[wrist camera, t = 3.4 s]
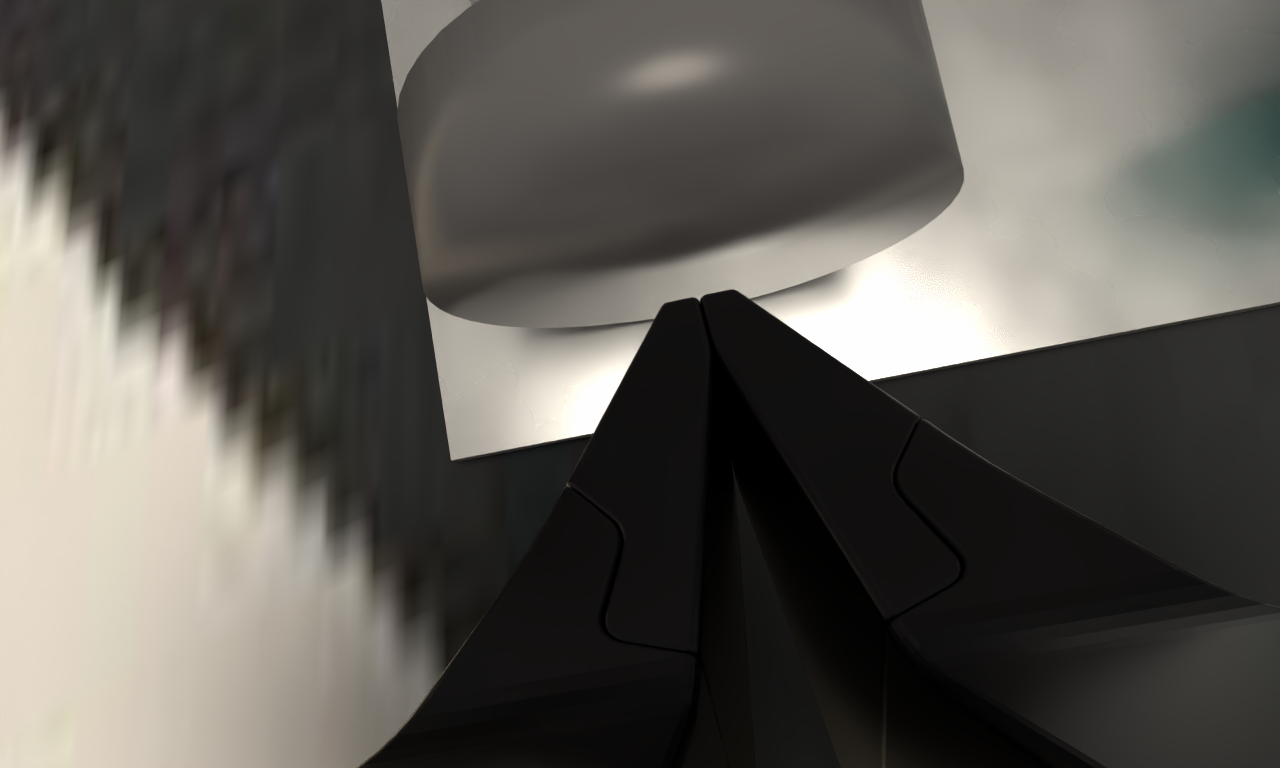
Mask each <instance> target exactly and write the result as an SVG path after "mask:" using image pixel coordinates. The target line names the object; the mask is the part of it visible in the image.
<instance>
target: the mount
mask: <svg viewBox="0 0 1280 768" xmlns="http://www.w3.org/2000/svg"><path fill="white" fill-rule="evenodd" d="M381 1H382V8H383V14H384V21H385V27H386V34H387V41H388V47H389V54H390V60H391V67H392V74H393V80H394V87H395V93H396V100H397V107H398V102H399V95H400V92H401V90H402V87H403V84H404V82H405V79H406V76H407V74H408V73H409V71H410V69H411V68H412V66H413V65H414V63H415V62H416V60H417V58H418V57H419V55H420V54H421V52H422V51H423V50H424V49H425V48H426V47H427V46H428V44H429V43H430V42H431V41H432V40H433V39H434V38H435V37H436V36H437V35H438V33H439V32H440V31H441V30H442V29H443V28H444V27H446V26H447V25H448V24H449V23H450V22H452V21H453V20H454V19H455V18H457V17H458V16H459V15H460V14H461V13H463V12H464V11H465V10H466V9H467V8H469V7H470V6H471V5H473V4H474V3H476V2H478V1H479V0H381ZM922 4H923V8H924V12H925V16H926V20H927V24H928V28H929V32H930V36H931V40H932V44H933V48H934V52H935V56H936V60H937V64H938V68H939V72H940V76H941V80H942V84H943V89H944V93H945V97H946V101H947V105H948V109H949V113H950V117H951V121H952V125H953V129H954V133H955V137H956V141H957V145H958V149H959V153H960V157H961V161H962V165H963V169H964V182H963V185H962V187H961V190H960V193H959V194H958V195H957V197H956V198H955V199H954V201H953V202H952V203H951V205H950V206H948V207H947V208H946V209H945V210H944V211H943V212H942V213H941V214H940V215H939V216H938V217H937V218H935V219H934V220H933V221H931V222H930V223H929V224H927V225H926V226H924V227H923V228H922V229H920V230H918V231H917V232H915V233H914V234H912V235H910V236H909V237H907V238H906V239H904V240H902V241H900V242H898V243H896V244H894V245H893V246H891V247H889V248H887V249H885V250H883V251H881V252H879V253H877V254H875V255H872V256H870V257H868V258H866V259H864V260H862V261H859V262H857V263H854V264H852V265H850V266H847V267H845V268H842V269H840V270H837V271H835V272H832V273H829V274H827V275H824V276H821V277H819V278H816V279H813V280H810V281H807V282H804V283H801V284H798V285H795V286H792V287H788V288H785V289H782V290H779V291H775V292H772V293H769V294H765V295H761V296H758V297H754V298H750V300H752V301H753V302H755V303H756V304H757V305H759V306H760V307H762V308H763V309H765V310H766V311H768V312H769V313H771V314H772V315H773V316H775V317H776V318H778V319H779V320H781V321H782V322H784V323H785V324H787V325H788V326H790V327H791V328H792V329H794V330H795V331H797V332H798V333H800V334H801V335H803V336H804V337H806V338H807V339H808V340H810V341H811V342H813V343H814V344H816V345H817V346H819V347H820V348H822V349H823V350H824V351H826V352H827V353H829V354H830V355H832V356H833V357H835V358H836V359H838V360H839V361H840V362H842V363H843V364H845V365H846V366H848V367H849V368H851V369H852V370H854V371H855V372H857V373H858V374H859V375H861V376H862V377H864V378H865V379H867V380H868V381H870V382H871V383H874V382H879V381H884V380H889V379H894V378H900V377H905V376H910V375H915V374H921V373H926V372H931V371H936V370H942V369H947V368H952V367H957V366H963V365H968V364H973V363H978V362H984V361H989V360H994V359H999V358H1004V357H1010V356H1015V355H1020V354H1025V353H1031V352H1036V351H1041V350H1046V349H1052V348H1057V347H1062V346H1067V345H1073V344H1078V343H1083V342H1088V341H1094V340H1099V339H1104V338H1109V337H1115V336H1120V335H1125V334H1130V333H1135V332H1141V331H1146V330H1151V329H1156V328H1162V327H1167V326H1172V325H1177V324H1183V323H1188V322H1193V321H1198V320H1204V319H1209V318H1214V317H1219V316H1225V315H1230V314H1235V313H1240V312H1245V311H1251V310H1256V309H1261V308H1266V307H1272V306H1277V305H1280V0H922ZM426 298H427V297H426ZM427 304H428V311H429V317H430V324H431V331H432V337H433V344H434V350H435V357H436V364H437V370H438V377H439V383H440V390H441V396H442V403H443V410H444V416H445V423H446V429H447V436H448V443H449V449H450V456H451V460H457V461H465V460H470V459H475V458H481V457H486V456H491V455H496V454H502V453H507V452H512V451H517V450H522V449H528V448H533V447H538V446H543V445H549V444H554V443H559V442H564V441H570V440H575V439H580V438H585V437H591V436H592V435H593V433H594V431H595V429H596V427H597V425H598V423H599V422H600V420H601V418H602V416H603V414H604V412H605V410H606V409H607V407H608V405H609V403H610V401H611V399H612V397H613V396H614V394H615V392H616V390H617V388H618V386H619V384H620V382H621V381H622V379H623V377H624V375H625V373H626V371H627V369H628V368H629V366H630V364H631V362H632V360H633V358H634V356H635V355H636V353H637V351H638V349H639V347H640V345H641V343H642V342H643V340H644V338H645V336H646V334H647V332H648V330H649V328H650V327H651V325H652V323H653V321H654V319H648V320H641V321H634V322H626V323H617V324H607V325H597V326H583V327H562V328H525V327H509V326H499V325H491V324H484V323H479V322H474V321H469V320H466V319H462V318H459V317H456V316H453V315H451V314H448V313H446V312H444V311H442V310H440V309H439V308H437V307H436V306H435V305H433V304H432V303H431V302H430V301H429V300H428V298H427Z"/></svg>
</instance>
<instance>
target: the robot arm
mask: <svg viewBox="0 0 1280 768" xmlns="http://www.w3.org/2000/svg"><path fill="white" fill-rule="evenodd" d="M730 457H731V458H730ZM731 461H732V464H731ZM732 465H733V469H734V473H735V477H736V480H737V483H738V486H739V490H740V493H741V496H742V498H743V501H744V504H745V507H746V509H747V512H748V515H749V518H750V520H751V523H752V526H753V528H754V531H755V534H756V537H757V539H758V542H759V545H760V548H761V550H762V553H763V556H764V559H765V561H766V564H767V567H768V570H769V572H770V575H771V578H772V580H773V583H774V586H775V589H776V591H777V594H778V597H779V600H780V602H781V605H782V608H783V611H784V613H785V616H786V619H787V621H788V624H789V627H790V630H791V632H792V635H793V638H794V641H795V643H796V646H797V649H798V652H799V654H800V657H801V660H802V663H803V665H804V668H805V671H806V673H807V676H808V679H809V682H810V684H811V687H812V690H813V693H814V695H815V698H816V701H817V704H818V706H819V709H820V712H821V714H822V717H823V720H824V723H825V725H826V728H827V731H828V734H829V736H830V739H831V742H832V745H833V747H834V750H835V753H836V756H837V758H838V761H839V764H840V766H841V768H1280V606H1277V605H1272V604H1268V603H1265V602H1262V601H1259V600H1256V599H1253V598H1250V597H1247V596H1243V595H1241V594H1238V593H1236V592H1233V591H1231V590H1228V589H1226V588H1224V587H1221V586H1219V585H1216V584H1214V583H1211V582H1209V581H1207V580H1205V579H1203V578H1201V577H1199V576H1197V575H1195V574H1193V573H1191V572H1189V571H1187V570H1185V569H1183V568H1182V567H1180V566H1178V565H1176V564H1174V563H1172V562H1170V561H1169V560H1167V559H1165V558H1163V557H1161V556H1159V555H1157V554H1156V553H1154V552H1152V551H1150V550H1148V549H1146V548H1144V547H1143V546H1141V545H1139V544H1137V543H1135V542H1133V541H1132V540H1130V539H1128V538H1126V537H1124V536H1122V535H1120V534H1119V533H1117V532H1115V531H1113V530H1111V529H1109V528H1107V527H1106V526H1104V525H1102V524H1100V523H1098V522H1096V521H1094V520H1093V519H1091V518H1089V517H1087V516H1085V515H1083V514H1081V513H1080V512H1078V511H1076V510H1074V509H1072V508H1070V507H1069V506H1067V505H1065V504H1063V503H1061V502H1059V501H1057V500H1056V499H1054V498H1052V497H1050V496H1048V495H1046V494H1045V493H1043V492H1041V491H1039V490H1038V489H1036V488H1034V487H1032V486H1031V485H1029V484H1027V483H1025V482H1024V481H1022V480H1020V479H1018V478H1017V477H1015V476H1013V475H1011V474H1010V473H1008V472H1006V471H1004V470H1003V469H1001V468H999V467H997V466H995V465H994V464H992V463H991V462H989V461H988V460H986V459H984V458H983V457H981V456H980V455H978V454H977V453H975V452H974V451H972V450H970V449H969V448H967V447H966V446H964V445H963V444H961V443H960V442H958V441H956V440H955V439H953V438H952V437H950V436H949V435H947V434H946V433H944V432H943V431H942V430H940V429H939V428H937V427H936V426H934V425H933V424H931V423H930V422H928V421H927V420H921V418H920V416H919V415H918V414H916V413H915V412H913V411H912V410H910V409H909V408H908V407H906V406H905V405H903V404H902V403H900V402H899V401H897V400H896V399H894V398H893V397H891V396H890V395H889V394H887V393H886V392H884V391H883V390H881V389H880V388H878V387H877V386H875V385H874V384H873V383H871V382H870V381H868V380H867V379H865V378H864V377H862V376H861V375H859V374H858V373H857V372H855V371H854V370H852V369H851V368H849V367H848V366H846V365H845V364H843V363H842V362H840V361H839V360H838V359H836V358H835V357H833V356H832V355H830V354H829V353H827V352H826V351H824V350H823V349H822V348H820V347H819V346H817V345H816V344H814V343H813V342H811V341H810V340H808V339H807V338H806V337H804V336H803V335H801V334H800V333H798V332H797V331H795V330H794V329H792V328H791V327H790V326H788V325H787V324H785V323H784V322H782V321H781V320H779V319H778V318H776V317H775V316H773V315H772V314H771V313H769V312H768V311H766V310H765V309H763V308H762V307H760V306H759V305H757V304H756V303H755V302H753V301H752V300H750V299H749V298H747V297H746V296H744V295H743V294H741V293H740V292H739V291H737V290H734V289H730V290H725V291H720V292H715V293H710V294H705V295H703V296H702V297H701V299H700V302H699V300H698V299H697V298H694V297H691V298H686V299H681V300H676V301H671V302H666V303H664V304H663V305H662V306H661V308H660V310H659V312H658V314H657V315H656V317H655V319H654V321H653V323H652V325H651V327H650V328H649V330H648V332H647V334H646V336H645V338H644V340H643V342H642V343H641V345H640V347H639V349H638V351H637V353H636V355H635V356H634V358H633V360H632V362H631V364H630V366H629V368H628V369H627V371H626V373H625V375H624V377H623V379H622V381H621V382H620V384H619V386H618V388H617V390H616V392H615V394H614V396H613V397H612V399H611V401H610V403H609V405H608V407H607V409H606V410H605V412H604V414H603V416H602V418H601V420H600V422H599V423H598V425H597V427H596V429H595V431H594V433H593V435H592V436H591V438H590V440H589V442H588V444H587V446H586V448H585V450H584V451H583V453H582V455H581V457H580V459H579V461H578V463H577V464H576V466H575V468H574V470H573V472H572V474H571V476H570V477H569V479H568V481H567V483H566V486H567V487H565V488H563V490H562V491H561V493H560V495H559V497H558V499H557V501H556V503H555V505H554V507H553V508H552V510H551V512H550V514H549V516H548V517H547V519H546V521H545V522H544V524H543V526H542V528H541V529H540V531H539V533H538V534H537V536H536V538H535V540H534V541H533V543H532V545H531V546H530V548H529V550H528V551H527V553H526V554H525V556H524V557H523V559H522V560H521V562H520V563H519V565H518V566H517V568H516V569H515V571H514V572H513V574H512V575H511V577H510V578H509V580H508V581H507V583H506V584H505V586H504V587H503V589H502V590H501V592H500V593H499V595H498V596H497V597H496V599H495V600H494V602H493V603H492V604H491V606H490V607H489V609H488V610H487V611H486V613H485V614H484V616H483V617H482V618H481V620H480V621H479V623H478V624H477V625H476V627H475V628H474V630H473V631H472V632H471V634H470V635H469V637H468V638H467V640H466V641H465V642H464V644H463V645H462V647H461V648H460V649H459V651H458V652H457V654H456V655H455V656H454V658H453V659H452V661H451V662H450V663H449V665H448V666H447V668H446V669H445V670H444V672H443V673H442V675H441V676H440V677H439V679H438V680H437V682H436V683H435V684H434V686H433V687H432V689H431V690H430V691H429V693H428V694H427V696H426V697H425V698H424V700H423V701H422V702H421V704H420V705H419V706H418V708H417V709H416V710H415V712H414V713H413V714H412V715H411V717H410V718H409V719H408V721H407V722H406V723H405V724H404V725H403V726H402V727H401V728H400V729H399V731H398V732H397V733H396V734H395V735H394V736H393V737H392V738H391V739H390V740H389V741H388V742H387V743H386V744H385V745H384V746H383V747H382V748H381V749H380V750H378V751H377V752H376V753H375V754H374V755H373V756H372V757H370V758H369V759H368V760H366V761H365V762H364V763H362V764H361V765H360V766H358V767H357V768H756V767H755V753H754V740H753V726H752V712H751V698H750V684H749V670H748V656H747V642H746V629H745V615H744V601H743V587H742V573H741V559H740V545H739V532H738V518H737V504H736V492H735V483H734V475H733V469H732Z"/></svg>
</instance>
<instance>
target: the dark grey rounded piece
mask: <svg viewBox="0 0 1280 768" xmlns="http://www.w3.org/2000/svg"><path fill="white" fill-rule="evenodd" d="M397 119H398V126H399V133H400V139H401V146H402V152H403V159H404V166H405V172H406V179H407V185H408V192H409V199H410V205H411V212H412V218H413V225H414V232H415V238H416V245H417V251H418V258H419V265H420V271H421V278H422V284H423V291H424V294H425V295H426V297H427V298H428V300H429V301H430V302H431V303H432V304H433V305H435V306H436V307H437V308H439V309H440V310H442V311H444V312H446V313H448V314H451V315H453V316H456V317H459V318H462V319H466V320H469V321H474V322H479V323H484V324H491V325H499V326H509V327H525V328H562V327H583V326H597V325H607V324H617V323H626V322H634V321H641V320H648V319H655V317H656V315H657V314H658V312H659V310H660V308H661V306H662V305H663V304H664V303H666V302H671V301H676V300H681V299H686V298H691V297H694V298H697V299H698V300H699V302H700V299H701V297H702V296H703V295H705V294H710V293H715V292H720V291H725V290H730V289H734V290H737V291H739V292H740V293H741V294H743V295H744V296H746V297H747V298H749V299H750V298H754V297H758V296H761V295H765V294H769V293H772V292H775V291H779V290H782V289H785V288H788V287H792V286H795V285H798V284H801V283H804V282H807V281H810V280H813V279H816V278H819V277H821V276H824V275H827V274H829V273H832V272H835V271H837V270H840V269H842V268H845V267H847V266H850V265H852V264H854V263H857V262H859V261H862V260H864V259H866V258H868V257H870V256H872V255H875V254H877V253H879V252H881V251H883V250H885V249H887V248H889V247H891V246H893V245H894V244H896V243H898V242H900V241H902V240H904V239H906V238H907V237H909V236H910V235H912V234H914V233H915V232H917V231H918V230H920V229H922V228H923V227H924V226H926V225H927V224H929V223H930V222H931V221H933V220H934V219H935V218H937V217H938V216H939V215H940V214H941V213H942V212H943V211H944V210H945V209H946V208H947V207H948V206H950V205H951V203H952V202H953V201H954V199H955V198H956V197H957V195H958V194H959V193H960V190H961V187H962V185H963V182H964V169H963V165H962V161H961V157H960V153H959V149H958V145H957V141H956V137H955V133H954V129H953V125H952V121H951V117H950V113H949V109H948V105H947V101H946V97H945V93H944V89H943V84H942V80H941V76H940V72H939V68H938V64H937V60H936V56H935V52H934V48H933V44H932V40H931V36H930V32H929V28H928V24H927V20H926V16H925V12H924V8H923V4H922V0H479V1H478V2H476V3H474V4H473V5H471V6H470V7H469V8H467V9H466V10H465V11H464V12H463V13H461V14H460V15H459V16H458V17H457V18H455V19H454V20H453V21H452V22H450V23H449V24H448V25H447V26H446V27H444V28H443V29H442V30H441V31H440V32H439V33H438V35H437V36H436V37H435V38H434V39H433V40H432V41H431V42H430V43H429V44H428V46H427V47H426V48H425V49H424V50H423V51H422V52H421V54H420V55H419V57H418V58H417V60H416V62H415V63H414V65H413V66H412V68H411V69H410V71H409V73H408V74H407V76H406V79H405V82H404V84H403V87H402V90H401V92H400V95H399V102H398V110H397Z"/></svg>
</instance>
